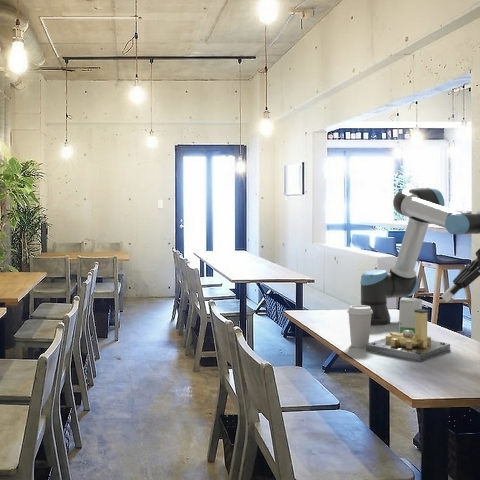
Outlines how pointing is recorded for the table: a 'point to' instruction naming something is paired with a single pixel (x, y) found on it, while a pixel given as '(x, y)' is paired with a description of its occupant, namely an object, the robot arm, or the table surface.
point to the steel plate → (406, 353)
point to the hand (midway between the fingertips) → (443, 299)
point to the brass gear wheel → (419, 336)
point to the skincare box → (408, 313)
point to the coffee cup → (359, 325)
